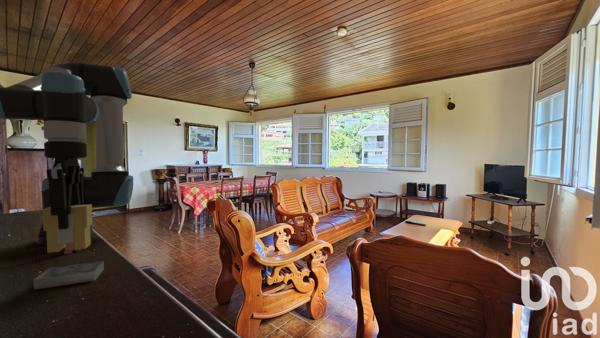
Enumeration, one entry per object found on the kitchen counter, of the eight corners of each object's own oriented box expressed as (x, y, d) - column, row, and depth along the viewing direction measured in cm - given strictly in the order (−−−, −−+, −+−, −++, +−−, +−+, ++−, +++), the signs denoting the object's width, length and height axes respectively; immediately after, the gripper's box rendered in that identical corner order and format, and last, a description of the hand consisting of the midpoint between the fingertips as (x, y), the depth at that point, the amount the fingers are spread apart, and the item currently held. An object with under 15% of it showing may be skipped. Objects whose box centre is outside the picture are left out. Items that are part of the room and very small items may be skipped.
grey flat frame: (49, 276, 65) (49, 267, 65) (104, 269, 69) (103, 260, 69) (34, 289, 58) (33, 279, 58) (94, 280, 62) (94, 271, 62)
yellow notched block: (52, 248, 63) (50, 206, 63) (93, 244, 66) (91, 204, 66) (44, 253, 60) (42, 209, 60) (87, 248, 63) (86, 206, 63)
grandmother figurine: (66, 255, 79) (64, 213, 78) (56, 254, 80) (54, 213, 79) (91, 247, 86) (89, 208, 86) (81, 246, 87) (80, 208, 87)
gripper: (62, 143, 69) (65, 232, 69) (24, 137, 53) (29, 253, 54) (97, 143, 71) (100, 229, 72) (70, 138, 56) (75, 248, 57)
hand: (69, 239), depth 63 cm, fingers closed on yellow notched block, 4 cm apart
